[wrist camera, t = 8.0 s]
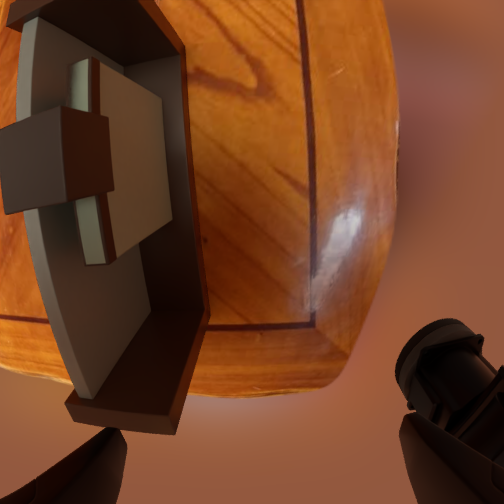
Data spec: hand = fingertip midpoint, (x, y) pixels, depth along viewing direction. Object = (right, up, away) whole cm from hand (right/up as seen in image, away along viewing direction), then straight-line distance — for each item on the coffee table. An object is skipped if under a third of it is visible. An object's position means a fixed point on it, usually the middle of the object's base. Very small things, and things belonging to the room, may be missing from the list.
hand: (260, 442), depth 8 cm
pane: (-6, +11, +9) cm, 15 cm away
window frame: (-6, +10, +11) cm, 16 cm away
